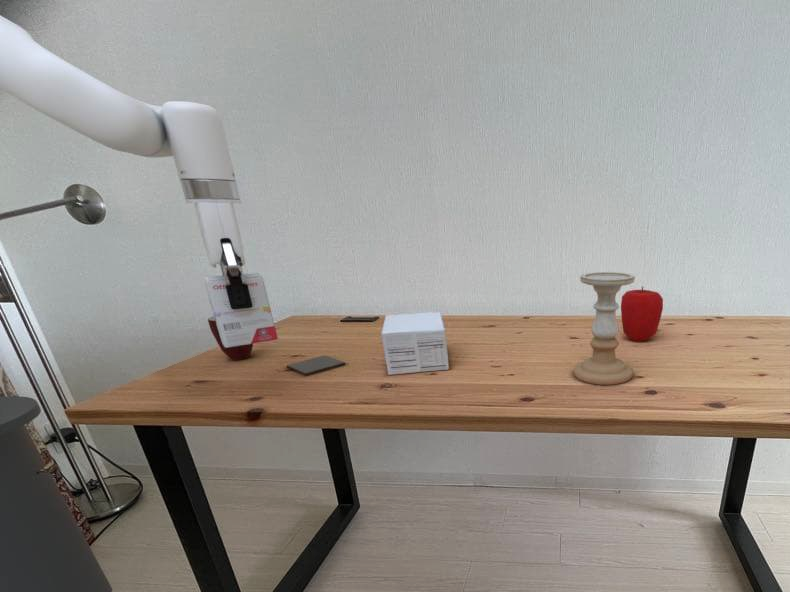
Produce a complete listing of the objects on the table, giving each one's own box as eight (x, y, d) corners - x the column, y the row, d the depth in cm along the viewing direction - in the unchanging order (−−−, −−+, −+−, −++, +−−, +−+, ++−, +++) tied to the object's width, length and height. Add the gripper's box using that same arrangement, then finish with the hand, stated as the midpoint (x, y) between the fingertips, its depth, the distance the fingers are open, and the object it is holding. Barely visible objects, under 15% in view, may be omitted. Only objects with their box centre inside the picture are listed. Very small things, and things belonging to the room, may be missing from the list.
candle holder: (574, 385, 90) (576, 281, 82) (572, 365, 101) (574, 271, 93) (637, 385, 89) (645, 280, 81) (628, 365, 101) (635, 271, 92)
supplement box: (390, 352, 111) (384, 314, 108) (445, 348, 114) (441, 311, 110) (386, 375, 96) (379, 332, 93) (449, 369, 99) (445, 327, 95)
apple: (667, 340, 118) (673, 287, 112) (637, 346, 113) (641, 291, 107) (640, 331, 126) (644, 281, 120) (610, 337, 121) (613, 285, 116)
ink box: (273, 335, 88) (259, 272, 83) (278, 340, 85) (264, 275, 80) (220, 342, 83) (201, 276, 79) (223, 348, 80) (204, 279, 75)
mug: (268, 359, 108) (257, 317, 104) (230, 367, 103) (216, 324, 99) (253, 350, 115) (241, 311, 110) (216, 358, 109) (203, 317, 105)
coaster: (306, 375, 97) (305, 373, 97) (286, 367, 102) (286, 365, 102) (345, 364, 103) (344, 362, 103) (325, 357, 109) (324, 355, 108)
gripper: (183, 193, 78) (213, 300, 86) (183, 191, 66) (218, 317, 73) (234, 194, 82) (258, 296, 90) (244, 193, 70) (271, 311, 77)
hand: (240, 304), depth 81 cm, fingers closed on ink box, 5 cm apart
